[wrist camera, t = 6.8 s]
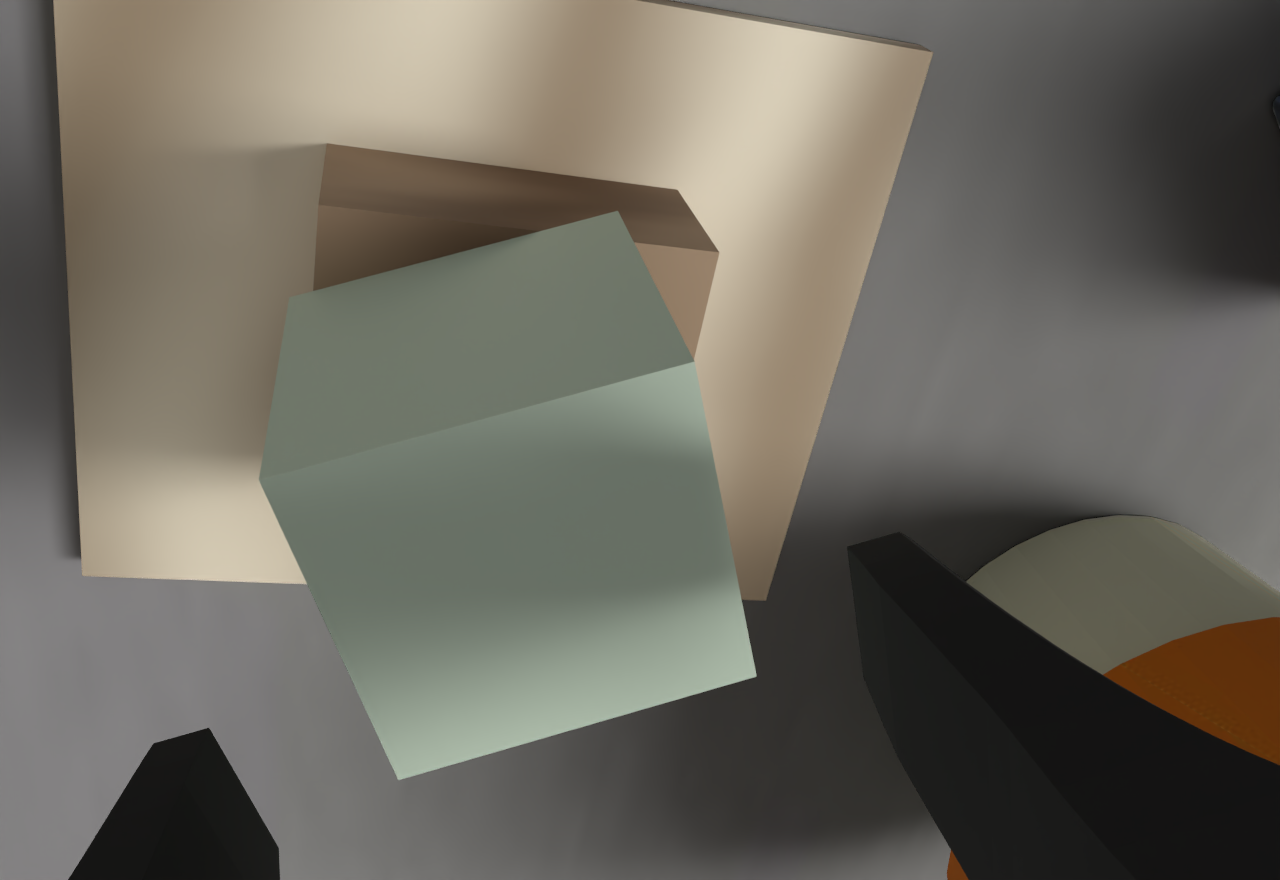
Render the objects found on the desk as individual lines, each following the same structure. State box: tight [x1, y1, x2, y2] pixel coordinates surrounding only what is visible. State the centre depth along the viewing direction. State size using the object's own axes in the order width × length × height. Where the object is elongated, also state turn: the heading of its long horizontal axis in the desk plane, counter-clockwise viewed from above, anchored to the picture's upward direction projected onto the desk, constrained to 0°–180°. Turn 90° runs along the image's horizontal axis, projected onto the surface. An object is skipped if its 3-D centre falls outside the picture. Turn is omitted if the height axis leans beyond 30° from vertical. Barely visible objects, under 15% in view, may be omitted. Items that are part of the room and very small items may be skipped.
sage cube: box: [259, 211, 757, 780], centre depth 16 cm, size 5×5×5 cm
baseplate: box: [53, 0, 933, 601], centre depth 20 cm, size 14×12×4 cm
